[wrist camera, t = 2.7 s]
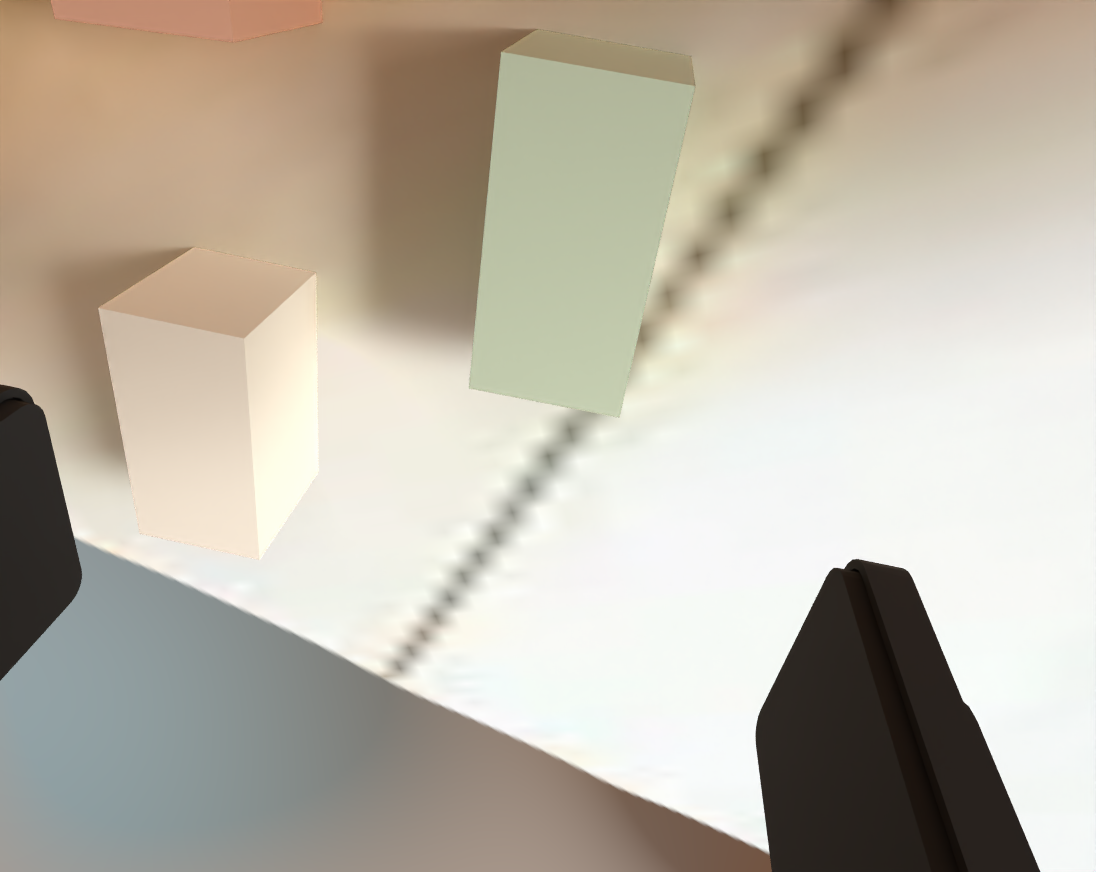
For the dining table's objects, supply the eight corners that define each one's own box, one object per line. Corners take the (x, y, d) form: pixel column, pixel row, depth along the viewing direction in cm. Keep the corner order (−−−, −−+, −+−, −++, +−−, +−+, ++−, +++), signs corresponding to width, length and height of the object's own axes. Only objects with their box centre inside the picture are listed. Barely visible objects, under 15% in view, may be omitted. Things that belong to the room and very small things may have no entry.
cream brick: (196, 245, 24) (97, 307, 20) (317, 270, 24) (244, 338, 20) (216, 448, 29) (139, 533, 25) (319, 470, 29) (259, 559, 25)
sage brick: (537, 28, 20) (500, 51, 16) (691, 55, 20) (695, 85, 15) (504, 311, 24) (468, 388, 20) (628, 335, 24) (619, 417, 20)
